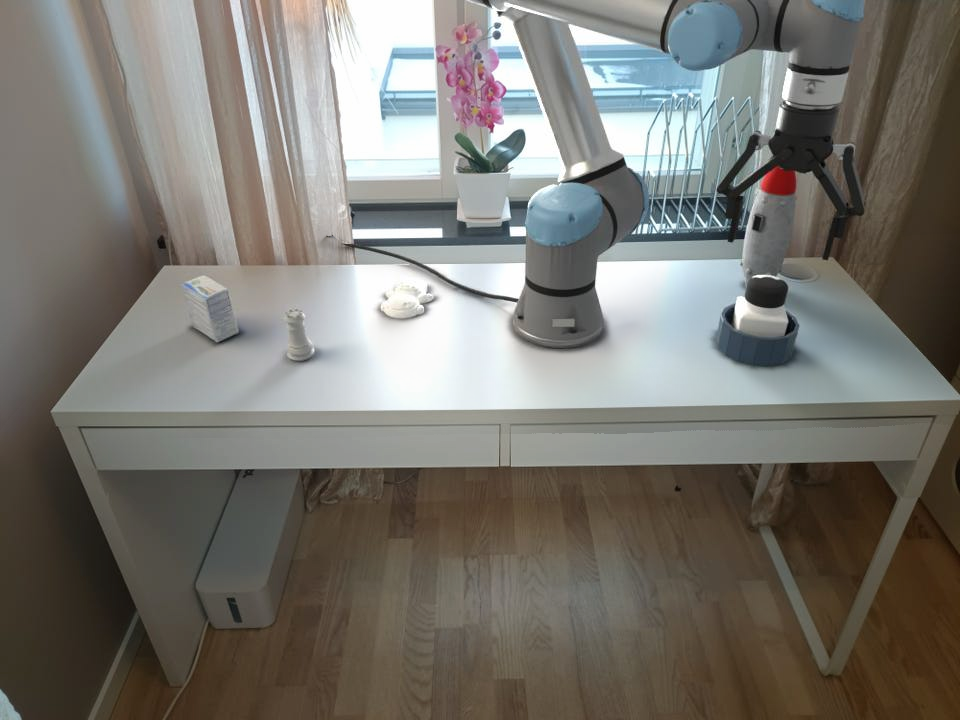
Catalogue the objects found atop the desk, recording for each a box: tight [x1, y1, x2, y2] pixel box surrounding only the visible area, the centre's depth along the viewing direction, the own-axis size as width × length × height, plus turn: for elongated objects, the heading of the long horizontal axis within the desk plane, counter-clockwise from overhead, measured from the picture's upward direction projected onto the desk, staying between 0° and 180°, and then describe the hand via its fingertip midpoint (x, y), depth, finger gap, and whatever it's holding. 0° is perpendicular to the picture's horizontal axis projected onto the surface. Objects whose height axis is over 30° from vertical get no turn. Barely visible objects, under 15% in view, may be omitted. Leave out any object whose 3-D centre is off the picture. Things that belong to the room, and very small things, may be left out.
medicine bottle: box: [731, 275, 789, 338], centre depth 118 cm, size 7×7×12 cm
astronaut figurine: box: [380, 280, 434, 319], centre depth 134 cm, size 9×12×3 cm
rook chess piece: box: [283, 307, 315, 362], centre depth 118 cm, size 4×4×8 cm
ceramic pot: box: [715, 302, 800, 367], centre depth 120 cm, size 12×12×5 cm
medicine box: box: [181, 275, 239, 343], centre depth 125 cm, size 8×4×9 cm, turn 47°
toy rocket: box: [739, 166, 798, 288], centre depth 131 cm, size 8×8×25 cm
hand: (777, 247), depth 111 cm, fingers open, 13 cm apart
